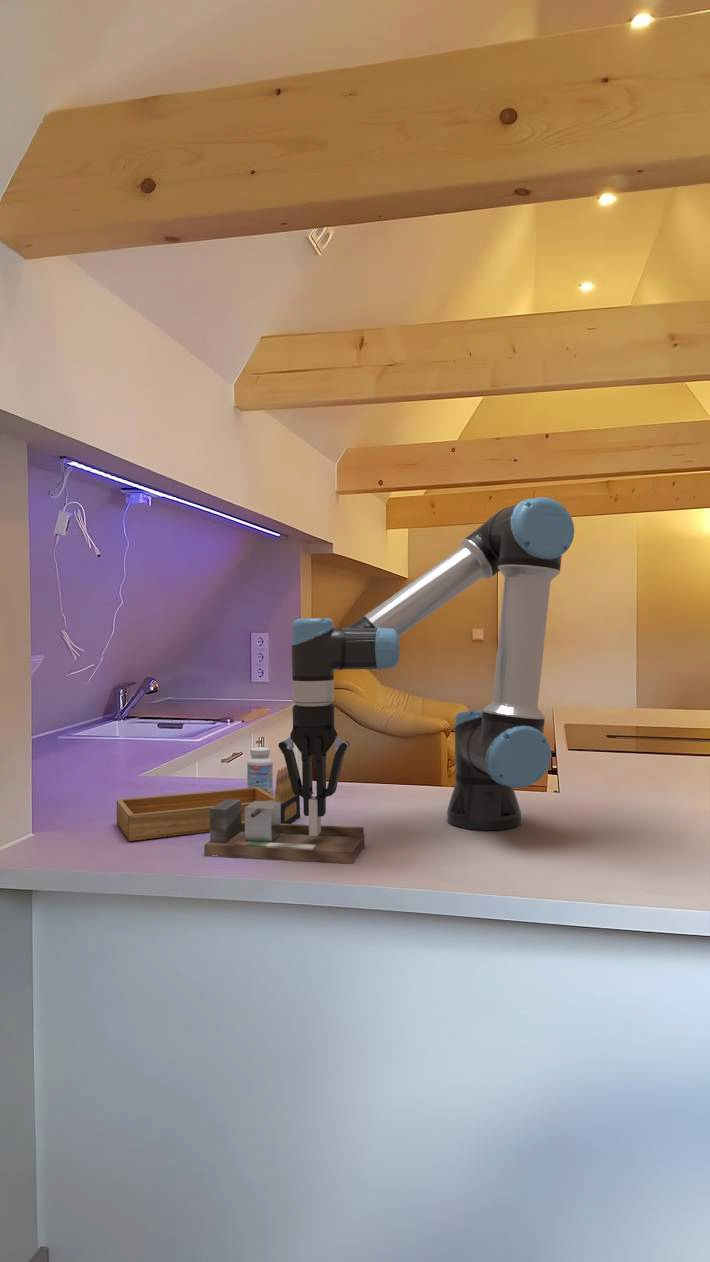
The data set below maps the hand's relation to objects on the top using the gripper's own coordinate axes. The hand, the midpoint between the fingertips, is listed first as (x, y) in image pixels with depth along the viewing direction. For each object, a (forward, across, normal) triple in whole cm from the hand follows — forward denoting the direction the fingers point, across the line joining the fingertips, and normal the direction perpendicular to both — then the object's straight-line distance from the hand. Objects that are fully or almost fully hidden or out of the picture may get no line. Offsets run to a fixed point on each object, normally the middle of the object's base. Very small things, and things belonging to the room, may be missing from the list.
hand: (315, 833), depth 140 cm
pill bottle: (+4, +25, -43) cm, 50 cm away
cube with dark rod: (+1, +10, +2) cm, 10 cm away
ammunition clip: (+4, +11, -19) cm, 22 cm away
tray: (+4, +29, -15) cm, 33 cm away
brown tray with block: (+3, +6, 0) cm, 6 cm away
